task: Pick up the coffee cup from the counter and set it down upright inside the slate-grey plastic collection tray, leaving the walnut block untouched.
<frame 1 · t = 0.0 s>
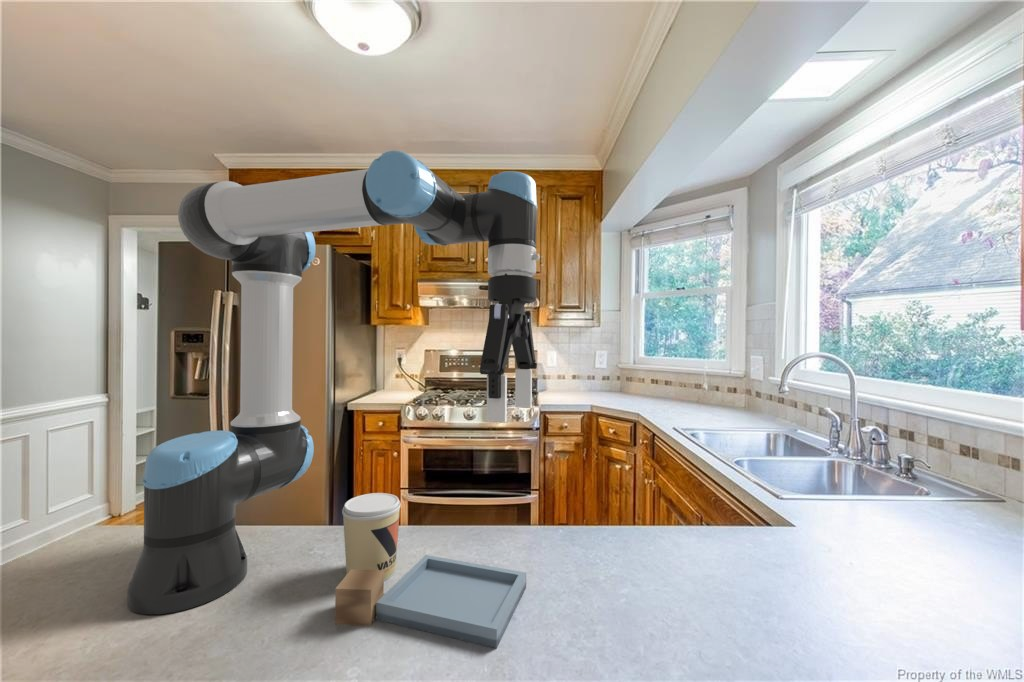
hand: (511, 414, 65), 28 cm above the countertop, fingers open, 13 cm apart
coffee cup: (371, 574, 71), on the countertop
walnut block: (360, 614, 61), on the countertop
collection tray: (455, 602, 63), on the countertop
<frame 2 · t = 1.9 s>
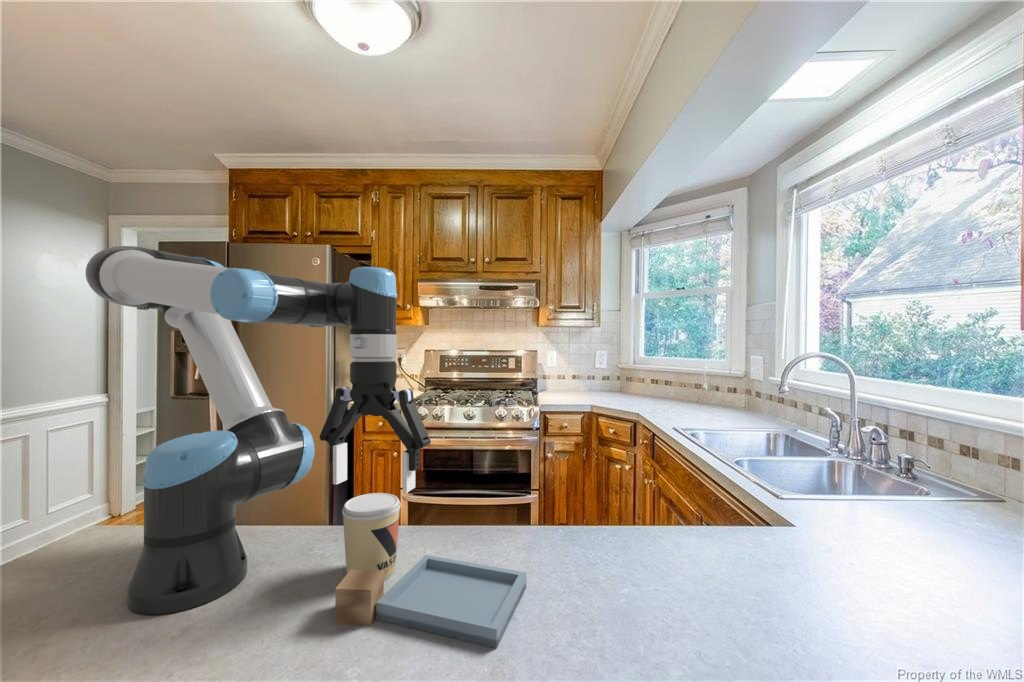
hand: (373, 486, 71), 15 cm above the countertop, fingers open, 13 cm apart
nothing on the countertop moved.
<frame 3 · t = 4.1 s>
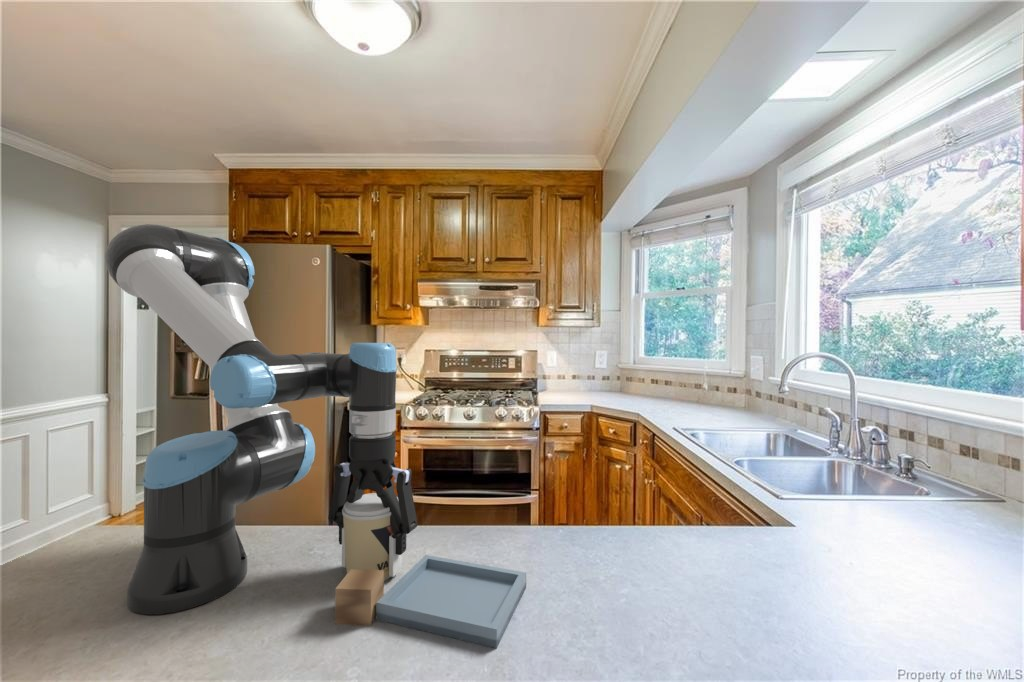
hand: (371, 567, 71), 1 cm above the countertop, fingers closed on coffee cup, 9 cm apart
coffee cup: (371, 574, 71), on the countertop, touching gripper
everything else where it was.
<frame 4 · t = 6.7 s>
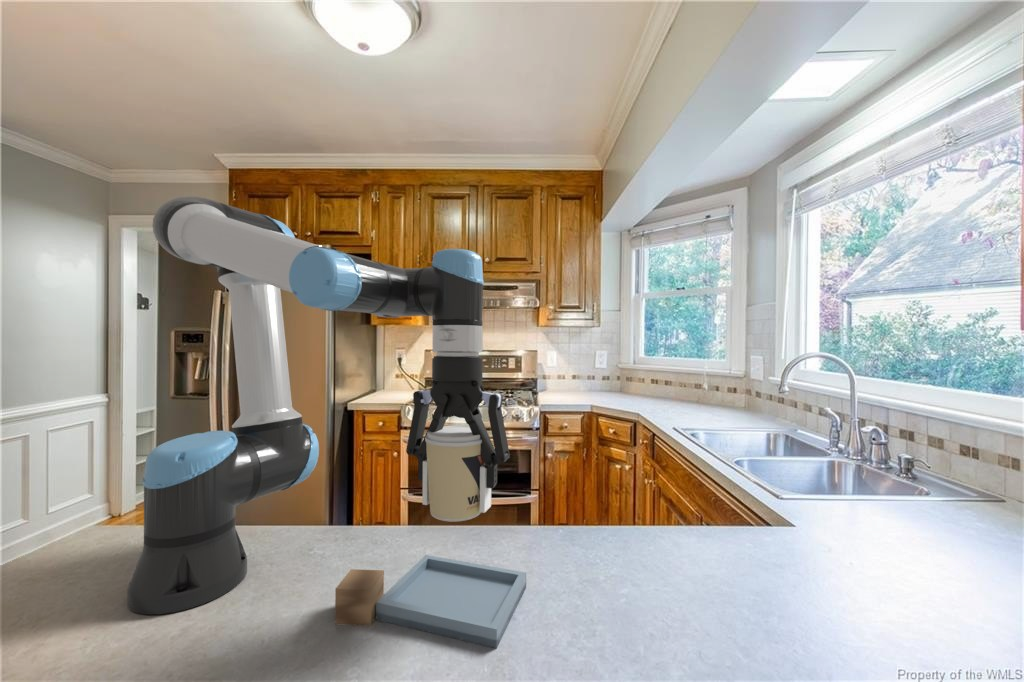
hand: (456, 505, 63), 15 cm above the countertop, fingers closed on coffee cup, 9 cm apart
coffee cup: (456, 512, 63), point 14 cm above the countertop, touching gripper
everything else where it was.
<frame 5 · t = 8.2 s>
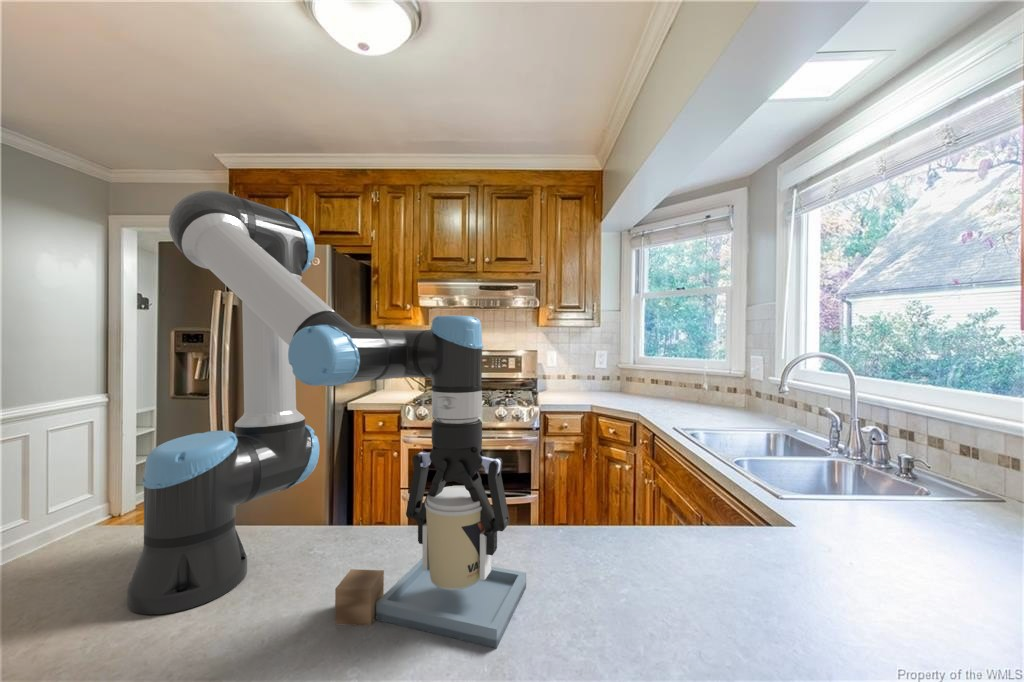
hand: (456, 569, 63), 5 cm above the countertop, fingers closed on coffee cup, 9 cm apart
coffee cup: (456, 576, 63), point 4 cm above the countertop, touching gripper
everything else where it was.
when the fingers open (3 cm above the countertop, at t = 9.6 s): coffee cup stays where it is, resting on collection tray.
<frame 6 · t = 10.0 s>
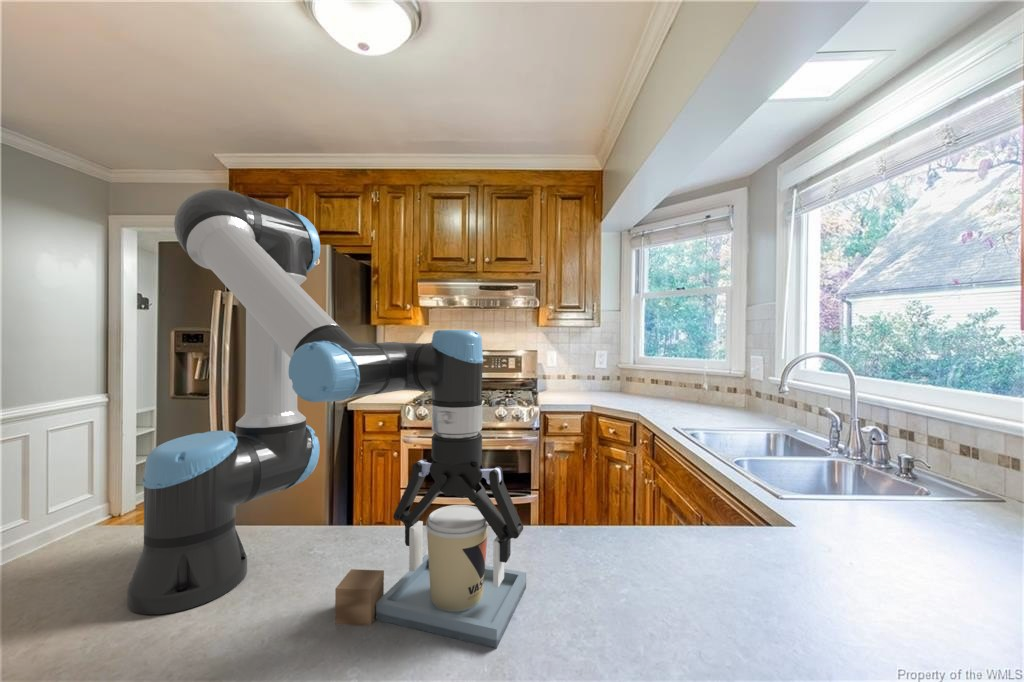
hand: (456, 574, 63), 4 cm above the countertop, fingers open, 13 cm apart
coffee cup: (457, 597, 63), point 1 cm above the countertop, touching collection tray
everything else where it was.
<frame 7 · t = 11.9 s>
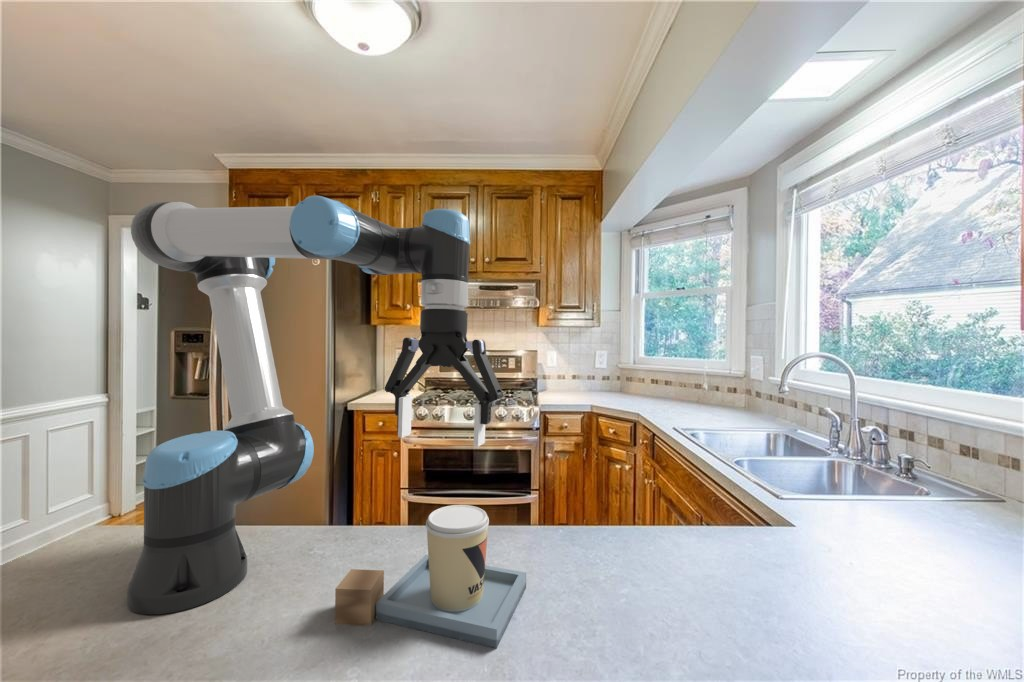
hand: (440, 440, 68), 23 cm above the countertop, fingers open, 13 cm apart
nothing on the countertop moved.
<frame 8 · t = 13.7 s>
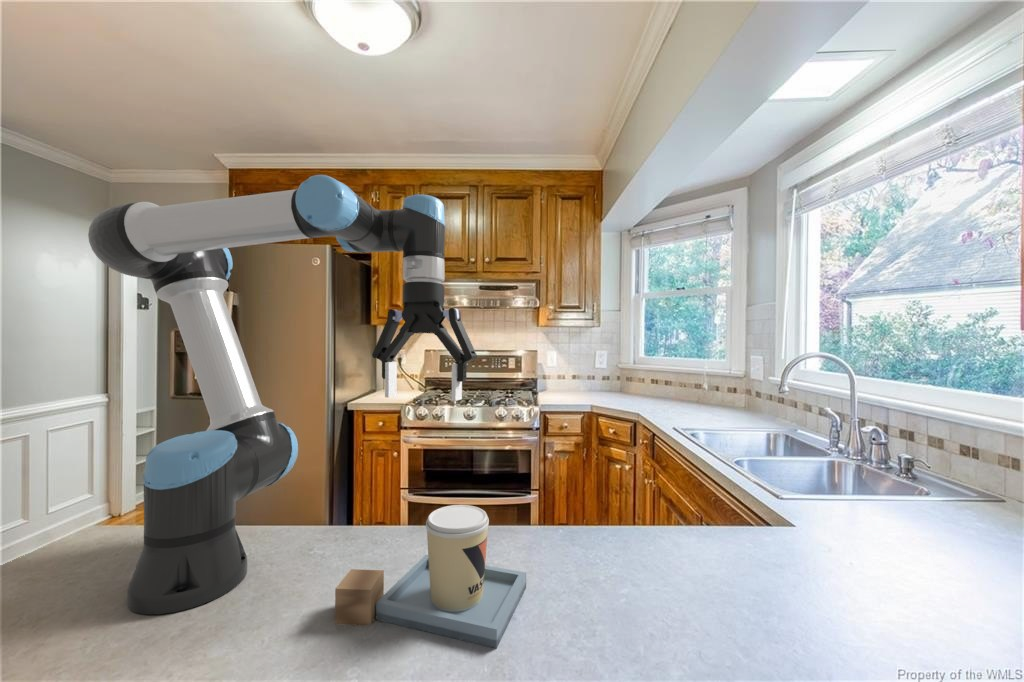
hand: (422, 398, 77), 29 cm above the countertop, fingers open, 13 cm apart
nothing on the countertop moved.
at the end: coffee cup inside the target area on the collection tray (0.2 cm from its centre), point 0.8 cm above the collection tray's base; coffee cup tilted 0°; the gripper is holding nothing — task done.
